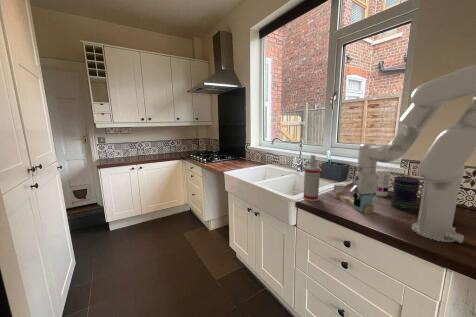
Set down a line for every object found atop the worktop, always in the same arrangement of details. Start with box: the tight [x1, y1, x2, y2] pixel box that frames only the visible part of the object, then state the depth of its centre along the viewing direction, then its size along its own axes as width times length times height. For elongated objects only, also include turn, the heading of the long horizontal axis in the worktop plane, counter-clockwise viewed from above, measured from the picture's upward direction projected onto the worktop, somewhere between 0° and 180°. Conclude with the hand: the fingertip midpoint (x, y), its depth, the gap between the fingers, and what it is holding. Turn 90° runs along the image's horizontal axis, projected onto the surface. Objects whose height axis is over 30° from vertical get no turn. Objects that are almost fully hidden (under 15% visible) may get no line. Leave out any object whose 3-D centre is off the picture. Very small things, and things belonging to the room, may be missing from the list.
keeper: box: [352, 193, 374, 213], centre depth 101 cm, size 5×6×8 cm
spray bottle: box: [302, 154, 321, 202], centre depth 114 cm, size 8×8×25 cm
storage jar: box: [390, 175, 420, 213], centre depth 103 cm, size 10×10×15 cm
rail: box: [332, 183, 375, 215], centre depth 107 cm, size 23×4×8 cm, turn 13°
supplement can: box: [374, 168, 391, 197], centre depth 121 cm, size 8×8×15 cm
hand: (362, 204), depth 101 cm, fingers closed on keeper, 6 cm apart
